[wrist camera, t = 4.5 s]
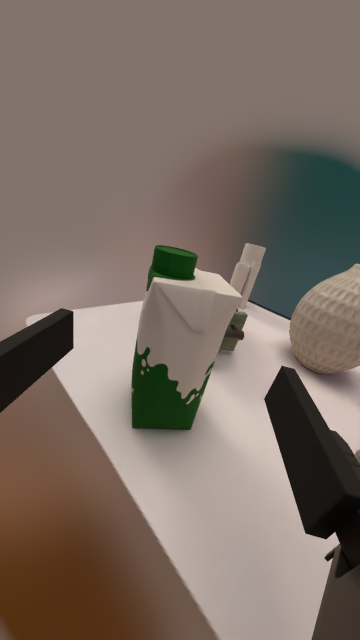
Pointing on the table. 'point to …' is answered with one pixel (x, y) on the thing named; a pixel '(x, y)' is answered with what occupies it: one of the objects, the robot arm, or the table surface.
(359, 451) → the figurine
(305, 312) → the vase
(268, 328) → the table surface
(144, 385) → the soya milk
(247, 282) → the vase
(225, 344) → the drawer
